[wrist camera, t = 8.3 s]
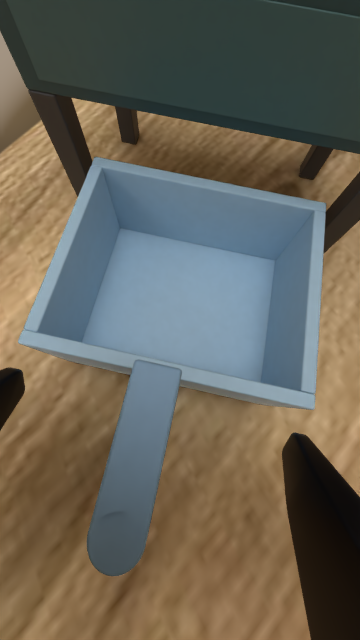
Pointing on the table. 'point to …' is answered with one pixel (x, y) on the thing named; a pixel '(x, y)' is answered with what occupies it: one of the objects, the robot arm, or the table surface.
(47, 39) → the cabinet
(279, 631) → the table surface
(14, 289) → the table surface
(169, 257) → the drawer
